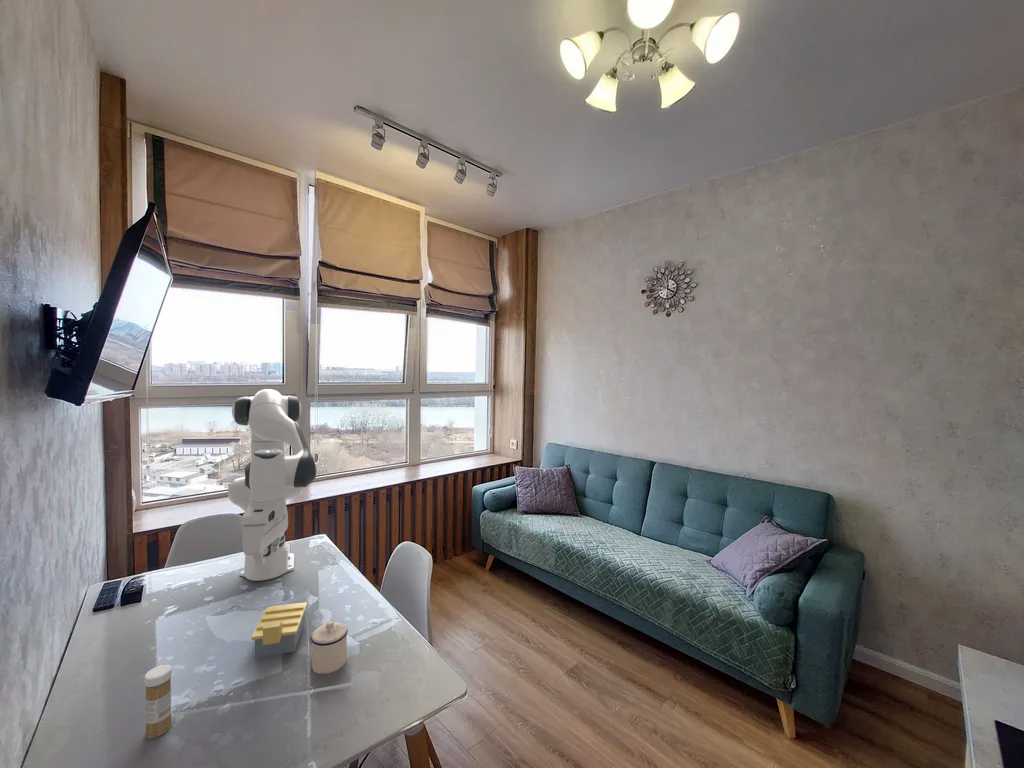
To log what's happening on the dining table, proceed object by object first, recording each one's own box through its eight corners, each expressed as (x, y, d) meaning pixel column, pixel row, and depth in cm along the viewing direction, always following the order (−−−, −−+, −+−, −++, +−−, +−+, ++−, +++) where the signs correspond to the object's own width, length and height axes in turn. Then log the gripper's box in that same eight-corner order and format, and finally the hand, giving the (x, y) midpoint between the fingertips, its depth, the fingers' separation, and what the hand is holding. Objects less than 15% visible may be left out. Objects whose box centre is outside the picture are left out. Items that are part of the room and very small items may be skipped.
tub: (269, 629, 128) (269, 610, 128) (304, 624, 131) (304, 605, 130) (254, 659, 114) (254, 638, 114) (294, 653, 117) (294, 632, 117)
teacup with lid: (354, 659, 115) (355, 618, 115) (327, 681, 107) (327, 636, 107) (324, 646, 121) (324, 606, 120) (295, 666, 112) (296, 623, 112)
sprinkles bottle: (168, 718, 95) (168, 660, 94) (174, 728, 92) (174, 669, 92) (142, 732, 91) (141, 672, 91) (148, 743, 88) (147, 681, 88)
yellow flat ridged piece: (267, 609, 128) (267, 594, 128) (307, 604, 131) (307, 590, 131) (247, 647, 111) (247, 630, 111) (294, 640, 114) (294, 624, 114)
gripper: (271, 498, 125) (271, 544, 125) (237, 520, 105) (237, 575, 105) (293, 497, 126) (293, 543, 126) (264, 519, 106) (264, 574, 106)
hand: (267, 558), depth 115 cm, fingers open, 8 cm apart
